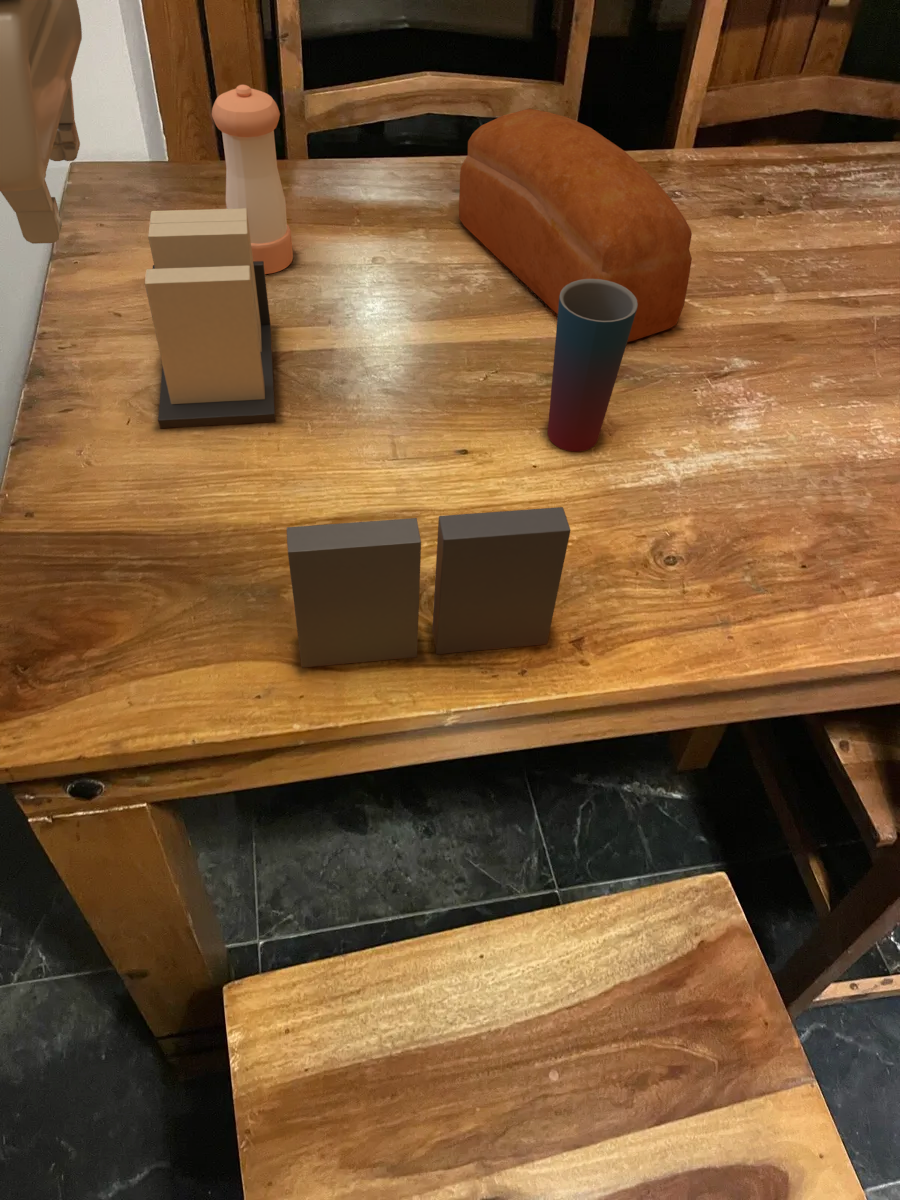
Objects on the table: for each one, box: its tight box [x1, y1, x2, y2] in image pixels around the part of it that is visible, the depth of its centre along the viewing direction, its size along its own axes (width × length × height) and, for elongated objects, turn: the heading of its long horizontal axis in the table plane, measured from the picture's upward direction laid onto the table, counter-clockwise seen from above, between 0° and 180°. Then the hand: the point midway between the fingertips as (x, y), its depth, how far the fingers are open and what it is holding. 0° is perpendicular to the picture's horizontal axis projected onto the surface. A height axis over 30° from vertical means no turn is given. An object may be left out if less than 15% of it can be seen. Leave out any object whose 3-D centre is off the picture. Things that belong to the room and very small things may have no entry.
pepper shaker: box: [211, 84, 294, 275], centre depth 103 cm, size 7×7×19 cm
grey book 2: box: [431, 506, 571, 655], centre depth 70 cm, size 9×2×13 cm, turn 99°
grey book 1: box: [286, 517, 422, 668], centre depth 69 cm, size 9×2×13 cm, turn 99°
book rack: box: [147, 208, 277, 429], centre depth 90 cm, size 11×16×14 cm
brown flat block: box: [144, 266, 265, 404], centre depth 87 cm, size 9×2×13 cm, turn 99°
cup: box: [547, 279, 638, 453], centre depth 86 cm, size 7×7×15 cm
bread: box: [458, 108, 693, 343], centre depth 107 cm, size 14×33×16 cm, turn 28°
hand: (55, 194), depth 52 cm, fingers open, 8 cm apart
